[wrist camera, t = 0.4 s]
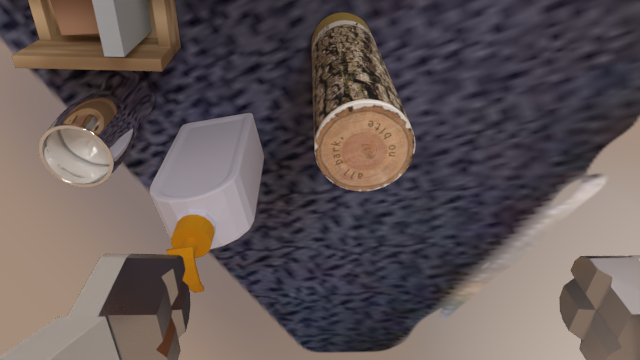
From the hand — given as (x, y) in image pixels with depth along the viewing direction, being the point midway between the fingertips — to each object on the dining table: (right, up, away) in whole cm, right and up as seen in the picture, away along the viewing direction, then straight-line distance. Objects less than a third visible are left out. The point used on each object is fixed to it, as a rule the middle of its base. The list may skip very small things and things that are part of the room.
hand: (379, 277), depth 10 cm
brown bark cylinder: (+1, +18, +43) cm, 46 cm away
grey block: (-20, +22, +38) cm, 48 cm away
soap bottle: (-13, +7, +49) cm, 51 cm away
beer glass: (-24, +12, +45) cm, 53 cm away
